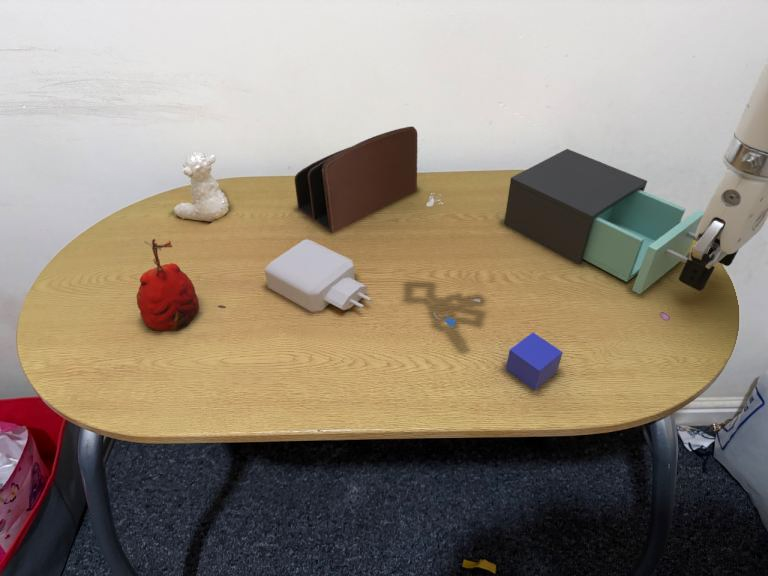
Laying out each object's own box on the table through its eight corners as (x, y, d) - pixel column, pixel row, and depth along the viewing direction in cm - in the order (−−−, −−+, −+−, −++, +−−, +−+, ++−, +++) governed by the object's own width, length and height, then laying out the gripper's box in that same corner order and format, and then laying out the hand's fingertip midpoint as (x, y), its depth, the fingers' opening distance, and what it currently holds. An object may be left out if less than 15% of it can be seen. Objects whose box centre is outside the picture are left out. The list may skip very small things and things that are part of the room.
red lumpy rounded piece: (189, 295, 79) (158, 208, 69) (212, 319, 75) (184, 230, 65) (139, 320, 75) (99, 231, 65) (161, 347, 71) (122, 257, 61)
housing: (630, 232, 88) (647, 180, 82) (577, 269, 81) (592, 216, 75) (556, 197, 97) (567, 148, 90) (503, 228, 90) (510, 177, 83)
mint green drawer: (724, 273, 78) (747, 229, 73) (678, 315, 72) (699, 270, 67) (608, 219, 89) (620, 177, 84) (559, 251, 83) (569, 208, 78)
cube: (527, 356, 68) (532, 331, 65) (556, 376, 66) (563, 352, 63) (504, 373, 66) (509, 349, 63) (533, 395, 64) (539, 371, 61)
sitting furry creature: (218, 194, 100) (202, 133, 92) (247, 209, 96) (233, 147, 88) (174, 216, 95) (153, 153, 87) (202, 233, 91) (183, 169, 83)
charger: (345, 335, 72) (268, 291, 79) (387, 298, 77) (312, 260, 84) (343, 309, 69) (263, 266, 76) (387, 273, 74) (308, 236, 81)
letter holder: (417, 194, 98) (419, 121, 89) (331, 237, 89) (323, 160, 80) (382, 175, 104) (380, 104, 95) (297, 213, 95) (286, 138, 85)
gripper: (766, 194, 55) (700, 316, 67) (828, 142, 64) (760, 259, 75) (695, 167, 60) (645, 286, 72) (761, 122, 68) (707, 235, 80)
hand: (704, 271), depth 73 cm, fingers closed on mint green drawer, 7 cm apart
